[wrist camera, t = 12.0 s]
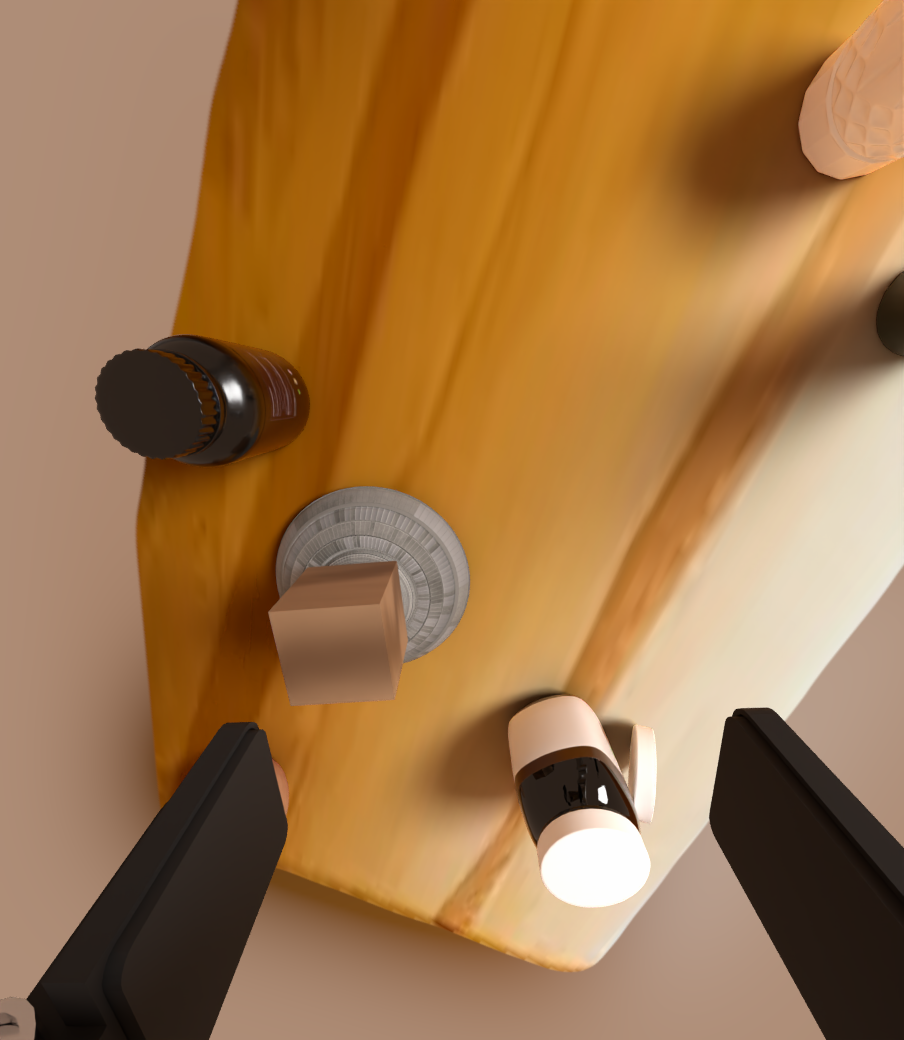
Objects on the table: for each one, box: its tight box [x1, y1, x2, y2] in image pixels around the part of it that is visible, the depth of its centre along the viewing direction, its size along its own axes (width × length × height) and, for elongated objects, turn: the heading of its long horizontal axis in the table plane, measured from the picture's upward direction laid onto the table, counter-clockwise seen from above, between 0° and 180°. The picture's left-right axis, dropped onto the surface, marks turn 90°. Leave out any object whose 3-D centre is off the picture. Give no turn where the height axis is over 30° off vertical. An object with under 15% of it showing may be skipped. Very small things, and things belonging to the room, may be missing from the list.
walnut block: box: [268, 561, 408, 706], centre depth 26 cm, size 6×6×6 cm
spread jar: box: [508, 694, 656, 908], centre depth 32 cm, size 12×11×12 cm
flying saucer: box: [276, 486, 470, 663], centre depth 32 cm, size 15×15×6 cm
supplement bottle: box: [95, 335, 310, 468], centre depth 25 cm, size 7×7×12 cm
